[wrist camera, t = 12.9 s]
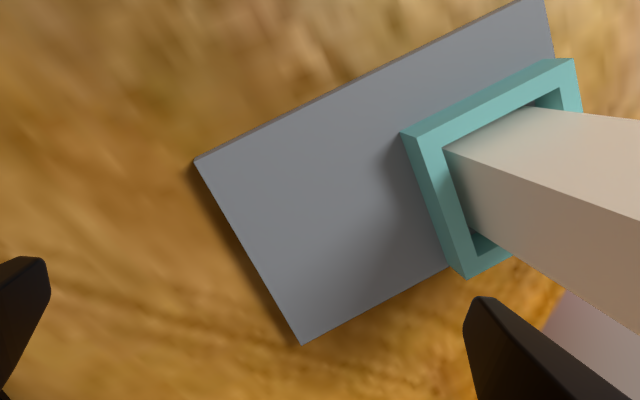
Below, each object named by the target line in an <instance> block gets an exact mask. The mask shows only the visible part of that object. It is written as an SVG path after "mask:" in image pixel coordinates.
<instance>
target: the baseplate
mask: <svg viewBox="0 0 640 400" xmlns="http://www.w3.org/2000/svg"><path fill="white" fill-rule="evenodd" d="M521 106H531V107H539V108H547V109H555V110H563V111H570V112H578V113H583V109H582V103H581V98H580V92H579V87H578V81H577V76H576V71H575V65H574V60H573V58H557V59H555V54H554V49H553V44H552V39H551V34H550V29H549V24H548V19H547V14H546V9H545V4H544V0H514V1H512V2H510V3H508V4H506V5H504V6H502V7H500V8H498V9H496V10H494V11H492V12H490V13H488V14H486V15H484V16H482V17H480V18H478V19H476V20H474V21H472V22H470V23H468V24H466V25H464V26H462V27H460V28H458V29H455V30H453V31H451V32H449V33H447V34H445V35H443V36H441V37H439V38H437V39H435V40H433V41H431V42H429V43H427V44H425V45H423V46H421V47H419V48H417V49H415V50H413V51H411V52H409V53H407V54H405V55H403V56H401V57H399V58H397V59H394V60H392V61H390V62H388V63H386V64H384V65H382V66H380V67H378V68H376V69H374V70H372V71H370V72H368V73H366V74H364V75H362V76H360V77H358V78H356V79H354V80H352V81H350V82H348V83H346V84H344V85H342V86H340V87H338V88H336V89H334V90H331V91H329V92H327V93H325V94H323V95H321V96H319V97H317V98H315V99H313V100H311V101H309V102H307V103H305V104H303V105H301V106H299V107H297V108H295V109H293V110H291V111H289V112H287V113H285V114H283V115H281V116H279V117H277V118H275V119H273V120H271V121H268V122H266V123H264V124H262V125H260V126H258V127H256V128H254V129H252V130H250V131H248V132H246V133H244V134H242V135H240V136H238V137H236V138H234V139H232V140H230V141H228V142H226V143H224V144H222V145H220V146H218V147H216V148H214V149H212V150H210V151H207V152H205V153H203V154H201V155H199V156H197V157H195V158H194V164H195V166H196V167H197V169H198V171H199V172H200V174H201V176H202V178H203V179H204V181H205V183H206V184H207V186H208V188H209V189H210V191H211V193H212V195H213V196H214V198H215V200H216V201H217V203H218V205H219V206H220V208H221V210H222V212H223V213H224V215H225V217H226V218H227V220H228V222H229V224H230V225H231V227H232V229H233V230H234V232H235V234H236V235H237V237H238V239H239V241H240V242H241V244H242V246H243V247H244V249H245V251H246V252H247V254H248V256H249V258H250V259H251V261H252V263H253V264H254V266H255V268H256V269H257V271H258V273H259V275H260V276H261V278H262V280H263V281H264V283H265V285H266V287H267V288H268V290H269V292H270V293H271V295H272V297H273V298H274V300H275V302H276V304H277V305H278V307H279V309H280V310H281V312H282V314H283V315H284V317H285V319H286V321H287V322H288V324H289V326H290V327H291V329H292V331H293V332H294V334H295V336H296V338H297V339H298V341H299V343H300V344H301V346H302V345H304V344H306V343H308V342H309V341H311V340H313V339H315V338H317V337H319V336H321V335H322V334H324V333H326V332H328V331H330V330H332V329H334V328H336V327H337V326H339V325H341V324H343V323H345V322H347V321H349V320H350V319H352V318H354V317H356V316H358V315H360V314H362V313H363V312H365V311H367V310H369V309H371V308H373V307H375V306H377V305H378V304H380V303H382V302H384V301H386V300H388V299H390V298H391V297H393V296H395V295H397V294H399V293H401V292H403V291H405V290H406V289H408V288H410V287H412V286H414V285H416V284H418V283H419V282H421V281H423V280H425V279H427V278H429V277H431V276H432V275H434V274H436V273H438V272H440V271H442V270H444V269H446V268H447V267H449V266H451V267H452V268H453V269H454V270H455V271H456V272H458V273H459V274H460V275H461V276H462V277H463V278H464V279H466V280H468V279H470V278H472V277H474V276H476V275H478V274H479V273H481V272H483V271H485V270H487V269H489V268H491V267H492V266H494V265H496V264H498V263H500V262H502V261H503V260H505V259H507V258H509V257H511V256H513V254H511V253H509V252H508V251H506V250H505V249H503V248H502V247H500V246H499V245H497V244H495V243H494V242H492V241H491V240H489V239H488V238H486V237H484V236H483V235H481V234H480V233H478V232H477V231H475V230H474V229H472V228H470V227H469V226H467V223H466V220H465V217H464V214H463V211H462V208H461V205H460V202H459V199H458V196H457V193H456V190H455V187H454V184H453V181H452V178H451V175H450V172H449V169H448V166H447V163H446V160H445V157H444V154H443V151H442V148H441V147H443V146H445V145H447V144H449V143H451V142H453V141H455V140H457V139H459V138H461V137H463V136H465V135H467V134H469V133H470V132H472V131H474V130H476V129H478V128H480V127H482V126H484V125H486V124H488V123H490V122H492V121H494V120H496V119H498V118H500V117H502V116H504V115H506V114H507V113H509V112H511V111H513V110H515V109H517V108H519V107H521Z"/></svg>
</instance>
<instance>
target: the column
mask: <svg viewBox="0 0 640 400" xmlns="http://www.w3.org/2000/svg"><path fill="white" fill-rule="evenodd" d="M441 148H442V151H443V154H444V157H445V160H446V163H447V166H448V169H449V172H450V175H451V178H452V181H453V184H454V187H455V190H456V193H457V196H458V199H459V202H460V205H461V208H462V211H463V214H464V217H465V220H466V223H467V226H469V227H470V228H472V229H474V230H475V231H477V232H478V233H480V234H481V235H483V236H484V237H486V238H488V239H489V240H491V241H492V242H494V243H495V244H497V245H499V246H500V247H502V248H503V249H505V250H506V251H508V252H509V253H511V254H513V255H514V256H516V257H517V258H519V259H520V260H522V261H523V262H525V263H527V264H528V265H530V266H531V267H533V268H534V269H536V270H538V271H539V272H541V273H542V274H544V275H545V276H547V277H548V278H550V279H552V280H553V281H555V282H556V283H558V284H559V285H561V286H563V287H564V288H566V289H567V290H569V291H570V292H572V293H574V294H575V295H577V296H578V297H580V298H581V299H583V300H585V301H586V302H588V303H589V304H591V305H592V306H594V307H595V308H597V309H598V310H600V311H602V312H603V313H605V314H606V315H608V316H609V317H611V318H612V319H614V320H616V321H617V322H619V323H620V324H622V325H623V326H625V327H626V328H628V329H630V330H631V331H633V332H634V333H636V334H637V335H639V336H640V120H634V119H626V118H618V117H610V116H602V115H594V114H586V113H578V112H570V111H563V110H555V109H547V108H539V107H531V106H521V107H519V108H517V109H515V110H513V111H511V112H509V113H507V114H506V115H504V116H502V117H500V118H498V119H496V120H494V121H492V122H490V123H488V124H486V125H484V126H482V127H480V128H478V129H476V130H474V131H472V132H470V133H469V134H467V135H465V136H463V137H461V138H459V139H457V140H455V141H453V142H451V143H449V144H447V145H445V146H443V147H441Z"/></svg>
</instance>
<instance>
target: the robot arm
mask: <svg viewBox="0 0 640 400" xmlns="http://www.w3.org/2000/svg"><path fill="white" fill-rule="evenodd" d="M50 297H51V287H50V282H49V277H48V272H47V267H46V263H45V261H44V260H43V259H42V258H39V257H28V256H19V257H16V258H13V259H11V260H9V261H6V262H4V263H2V264H0V400H10V398H9V397H8V396H7V395H6V394H5V392H4V391H3V390H2V388H3V386H4V385H5V383H6V382H7V380H8V379H9V377H10V375H11V374H12V372H13V370H14V369H15V367H16V365H17V363H18V361H19V360H20V358H21V356H22V354H23V352H24V350H25V348H26V346H27V344H28V342H29V340H30V338H31V336H32V334H33V332H34V330H35V328H36V326H37V324H38V322H39V320H40V318H41V316H42V314H43V313H44V311H45V309H46V307H47V305H48V303H49V300H50ZM463 338H464V342H465V346H466V351H467V355H468V360H469V364H470V368H471V373H472V377H473V382H474V386H475V390H476V394H477V398H478V400H632V399H630V398H629V397H628V396H626V395H625V394H624V393H622V392H621V391H619V390H618V389H617V388H615V387H614V386H613V385H611V384H610V383H608V382H607V381H606V380H605V379H603V378H602V377H601V376H599V375H598V374H597V373H595V372H594V371H593V370H591V369H590V368H589V367H587V366H586V365H585V364H583V363H582V362H580V361H579V360H578V359H576V358H575V357H574V356H572V355H571V354H570V353H568V352H567V351H566V350H564V349H563V348H562V347H560V346H559V345H558V344H556V343H555V342H554V341H552V340H551V339H549V338H548V337H547V336H545V335H544V334H543V333H541V332H540V331H539V330H537V329H536V328H535V327H533V326H532V325H531V324H529V323H528V322H527V321H525V320H524V319H523V318H521V317H520V316H518V315H517V314H516V313H514V312H513V311H512V310H510V309H509V308H508V307H506V306H505V305H504V304H502V303H501V302H500V301H498V300H497V299H495V298H493V297H483V296H477V297H475V298H474V299H473V300H472V302H471V305H470V308H469V310H468V313H467V315H466V318H465V320H464V323H463Z"/></svg>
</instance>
